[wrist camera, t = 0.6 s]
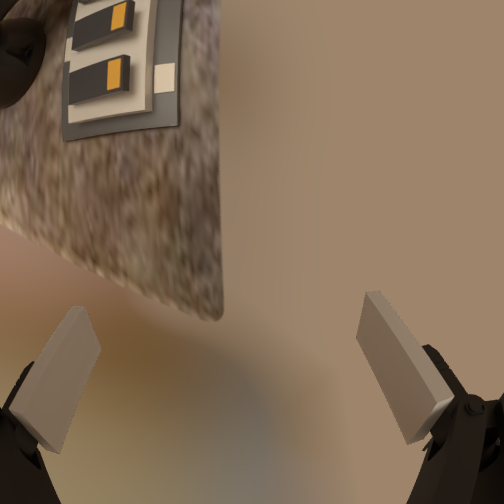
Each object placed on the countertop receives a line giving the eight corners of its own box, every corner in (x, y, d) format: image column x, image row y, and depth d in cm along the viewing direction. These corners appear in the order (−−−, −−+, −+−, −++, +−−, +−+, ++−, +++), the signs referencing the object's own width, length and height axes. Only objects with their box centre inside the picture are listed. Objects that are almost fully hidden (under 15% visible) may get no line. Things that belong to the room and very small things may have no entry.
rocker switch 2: (76, 73, 24) (68, 72, 23) (130, 56, 22) (123, 53, 21) (75, 105, 25) (67, 105, 24) (129, 91, 24) (121, 90, 23)
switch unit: (81, -18, 21) (65, -31, 16) (187, -43, 22) (182, -62, 17) (68, 140, 31) (46, 144, 26) (179, 125, 32) (169, 124, 27)
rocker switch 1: (81, 23, 21) (74, 21, 20) (135, 1, 20) (128, -2, 18) (78, 51, 23) (70, 49, 21) (132, 31, 21) (125, 28, 20)
